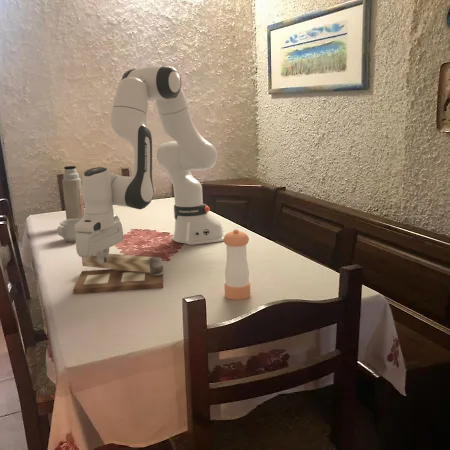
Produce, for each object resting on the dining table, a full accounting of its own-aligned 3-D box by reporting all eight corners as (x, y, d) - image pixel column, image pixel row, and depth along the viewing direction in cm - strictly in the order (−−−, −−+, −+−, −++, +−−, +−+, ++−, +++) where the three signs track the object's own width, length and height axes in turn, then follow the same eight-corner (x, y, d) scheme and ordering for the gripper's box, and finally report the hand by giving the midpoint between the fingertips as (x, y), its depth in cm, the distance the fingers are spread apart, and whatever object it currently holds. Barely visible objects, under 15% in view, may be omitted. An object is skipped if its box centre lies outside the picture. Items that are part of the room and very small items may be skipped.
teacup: (79, 235, 206) (77, 217, 204) (94, 239, 199) (92, 220, 197) (49, 242, 196) (47, 223, 194) (64, 247, 189) (62, 227, 187)
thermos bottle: (88, 225, 221) (82, 165, 214) (80, 230, 214) (73, 167, 207) (73, 225, 223) (66, 165, 216) (64, 229, 215) (57, 167, 209)
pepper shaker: (249, 289, 140) (248, 226, 135) (251, 299, 133) (250, 232, 128) (224, 290, 140) (222, 226, 135) (225, 300, 133) (223, 233, 128)
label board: (163, 269, 159) (162, 263, 159) (163, 287, 144) (162, 280, 143) (82, 275, 156) (81, 269, 156) (73, 294, 141) (72, 287, 140)
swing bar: (164, 269, 152) (164, 257, 151) (159, 273, 148) (158, 261, 147) (88, 262, 161) (87, 251, 160) (81, 266, 157) (80, 254, 156)
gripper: (110, 213, 160) (113, 252, 164) (70, 227, 142) (74, 271, 145) (126, 214, 158) (129, 254, 161) (88, 228, 140) (92, 273, 143)
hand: (103, 262), depth 153 cm, fingers closed
